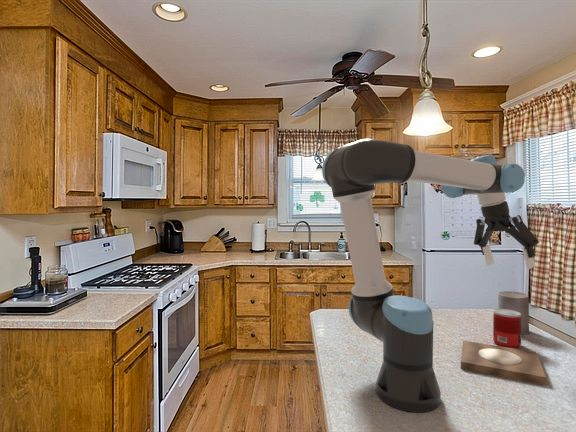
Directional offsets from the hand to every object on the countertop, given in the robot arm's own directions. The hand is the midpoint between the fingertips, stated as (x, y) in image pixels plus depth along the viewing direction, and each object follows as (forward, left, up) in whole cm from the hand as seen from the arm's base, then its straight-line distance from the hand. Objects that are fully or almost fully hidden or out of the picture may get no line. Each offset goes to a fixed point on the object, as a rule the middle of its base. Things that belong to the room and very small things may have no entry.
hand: (509, 265), depth 112 cm
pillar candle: (+3, +22, -28) cm, 35 cm away
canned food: (0, +5, -28) cm, 28 cm away
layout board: (-3, -13, -28) cm, 31 cm away
